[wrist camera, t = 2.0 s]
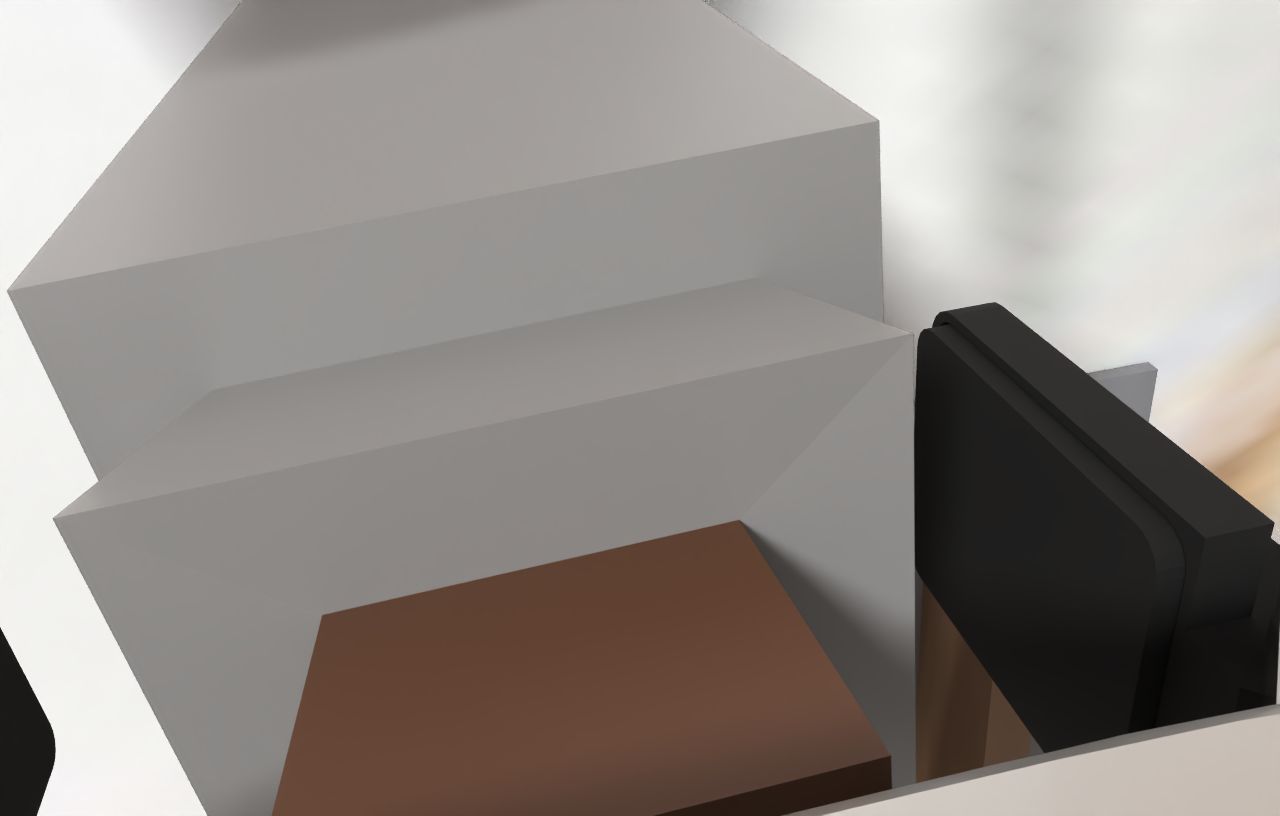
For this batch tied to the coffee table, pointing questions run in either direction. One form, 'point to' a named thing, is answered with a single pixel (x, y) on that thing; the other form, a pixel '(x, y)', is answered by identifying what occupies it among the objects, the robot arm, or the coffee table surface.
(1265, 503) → the coffee table surface
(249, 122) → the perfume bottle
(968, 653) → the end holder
